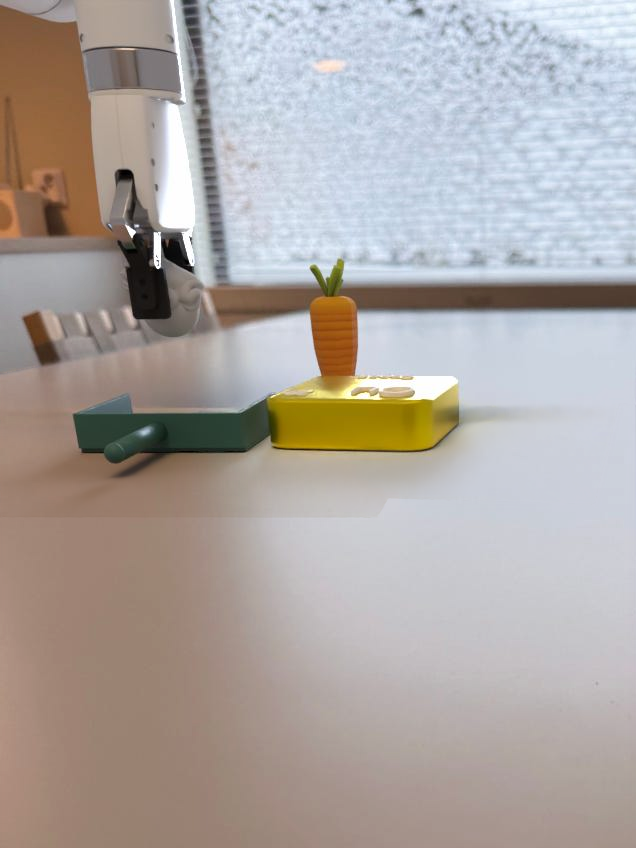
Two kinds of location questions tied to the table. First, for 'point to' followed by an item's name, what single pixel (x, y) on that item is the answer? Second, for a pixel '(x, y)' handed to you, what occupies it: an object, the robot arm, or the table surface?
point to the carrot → (334, 326)
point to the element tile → (364, 413)
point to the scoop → (167, 429)
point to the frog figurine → (177, 300)
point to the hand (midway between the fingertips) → (167, 313)
